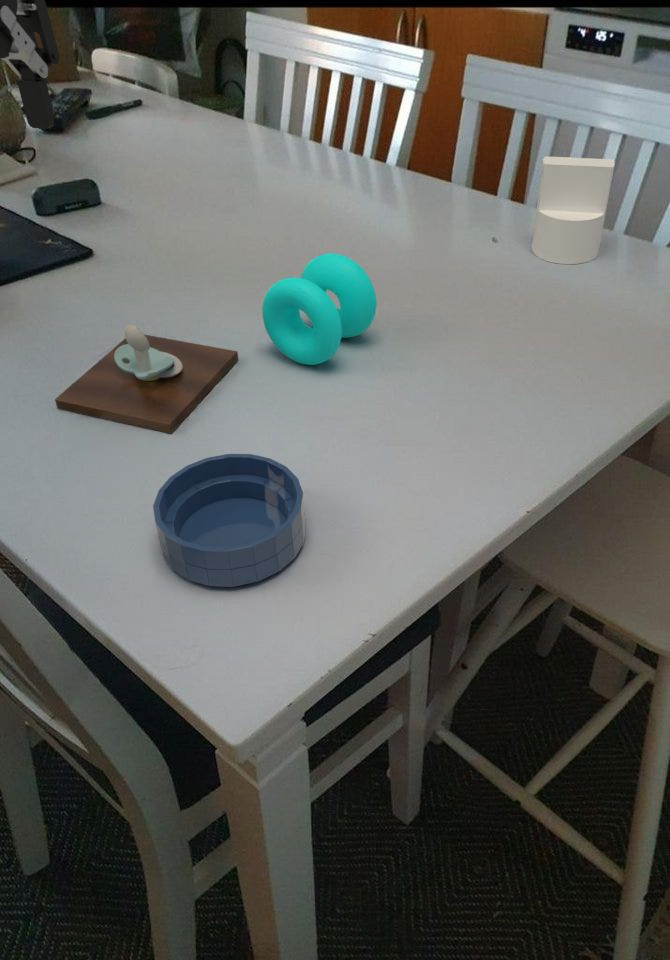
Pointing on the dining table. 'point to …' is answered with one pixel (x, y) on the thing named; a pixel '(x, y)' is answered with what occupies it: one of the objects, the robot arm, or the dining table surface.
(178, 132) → the dining table surface
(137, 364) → the pacifier
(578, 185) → the cylinder with rectangular tab
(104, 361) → the board
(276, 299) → the donuts
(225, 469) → the bowl
